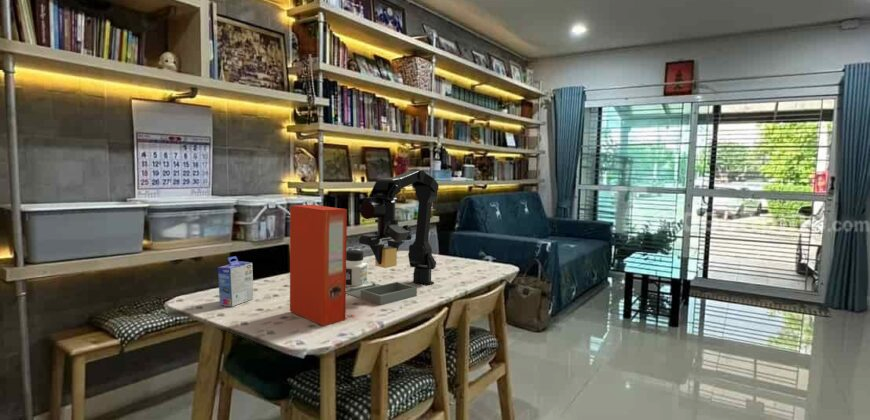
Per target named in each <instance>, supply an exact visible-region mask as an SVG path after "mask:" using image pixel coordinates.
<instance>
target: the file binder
mask: <svg viewBox="0 0 870 420" xmlns="http://www.w3.org/2000/svg"><path fill="white" fill-rule="evenodd" d="M289 209H290V210H289V214H290V215H289V216H290V217H289V218H290V219H289V220H290V221H289V225H290V226H289V235H290V236H289V266H290V267H289V312H292V313H293V314H296V315H298V316H300V317H303V318H305V319H307V320H309V321H312V322H314V323H316V324H318V325H321V326H326V325H331V324H335V323H339V322H343V321H345V320H346V304H347V303H346V300H347V299H346V297H347V296H346V295H347V294H346V289H347V287H346V251H347V236H348V235H347V230H348V228H347V225H348V223H347V222H348V217H347V216H348V209H346V208H340V207H339V208H338V207H332V206H324V205H319V204H318V205H316V204H298V205H297V204H295V205H290V206H289Z"/></svg>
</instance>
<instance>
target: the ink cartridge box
mask: <svg viewBox="0 0 870 420" xmlns="http://www.w3.org/2000/svg"><path fill="white" fill-rule="evenodd" d="M227 261H228V264H225V265H222V266H218V267H217V273H218V274H217V275H218V277H217V278H218V293H219V306H223V305H224V306H223V307H230V308H231V307H235V306H237V305H240V304H243V303H245V302H249V301H251V300H253V299H254V280H253V279H254V276H253V275H254V274H253V270H254V269H253V262H249V261H244V260H243V261H239V259H238V257H237V256H236V255H235V256H229V257H227Z"/></svg>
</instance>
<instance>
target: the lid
mask: <svg viewBox="0 0 870 420" xmlns="http://www.w3.org/2000/svg"><path fill="white" fill-rule="evenodd" d="M381 285H382V284H379V283H378V282H371V283H368V284H367V283H366V284H363V285H361V286H350V287H347V288H346V295H349V296H352V297H355V298H357V299H361V290H363V289H367V288H372V287H376V286H381Z"/></svg>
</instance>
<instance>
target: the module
mask: <svg viewBox="0 0 870 420" xmlns="http://www.w3.org/2000/svg"><path fill="white" fill-rule="evenodd" d="M397 253H398V250H397V248H394V247H391V246H388V245H384V247H383V248H382V262H381V264H378V262H377V260H376V258H375V259H374V260H375V261H374V265H375V266H376V267H380V268H384V269H387V268H392V267H393V268H394V267H397V263H398V262H397V261H398V260H397V259H398V258H397V256H398V255H397Z"/></svg>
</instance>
